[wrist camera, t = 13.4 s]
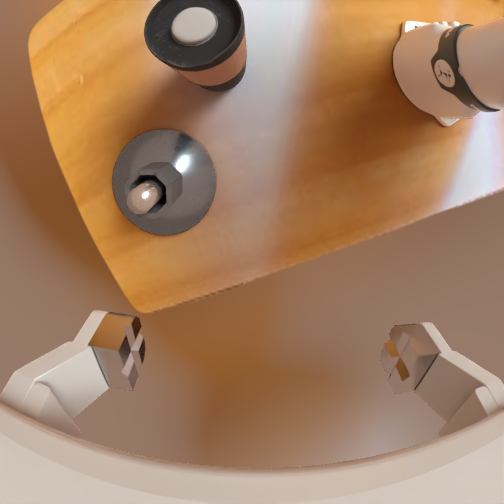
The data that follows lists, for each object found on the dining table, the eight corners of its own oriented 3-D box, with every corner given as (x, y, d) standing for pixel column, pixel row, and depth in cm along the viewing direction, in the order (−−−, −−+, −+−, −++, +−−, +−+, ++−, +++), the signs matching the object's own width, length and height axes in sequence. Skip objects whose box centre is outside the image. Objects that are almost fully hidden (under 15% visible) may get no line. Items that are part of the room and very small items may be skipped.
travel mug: (216, 35, 30) (189, -30, 12) (258, 64, 33) (267, 14, 15) (181, 74, 33) (122, 39, 15) (222, 103, 35) (196, 86, 17)
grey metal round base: (184, 108, 35) (163, 105, 26) (235, 204, 42) (231, 229, 32) (99, 164, 38) (63, 179, 29) (149, 247, 44) (126, 280, 35)
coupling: (140, 162, 37) (123, 169, 32) (182, 162, 37) (171, 169, 32) (141, 204, 40) (126, 217, 35) (182, 205, 40) (172, 219, 35)
